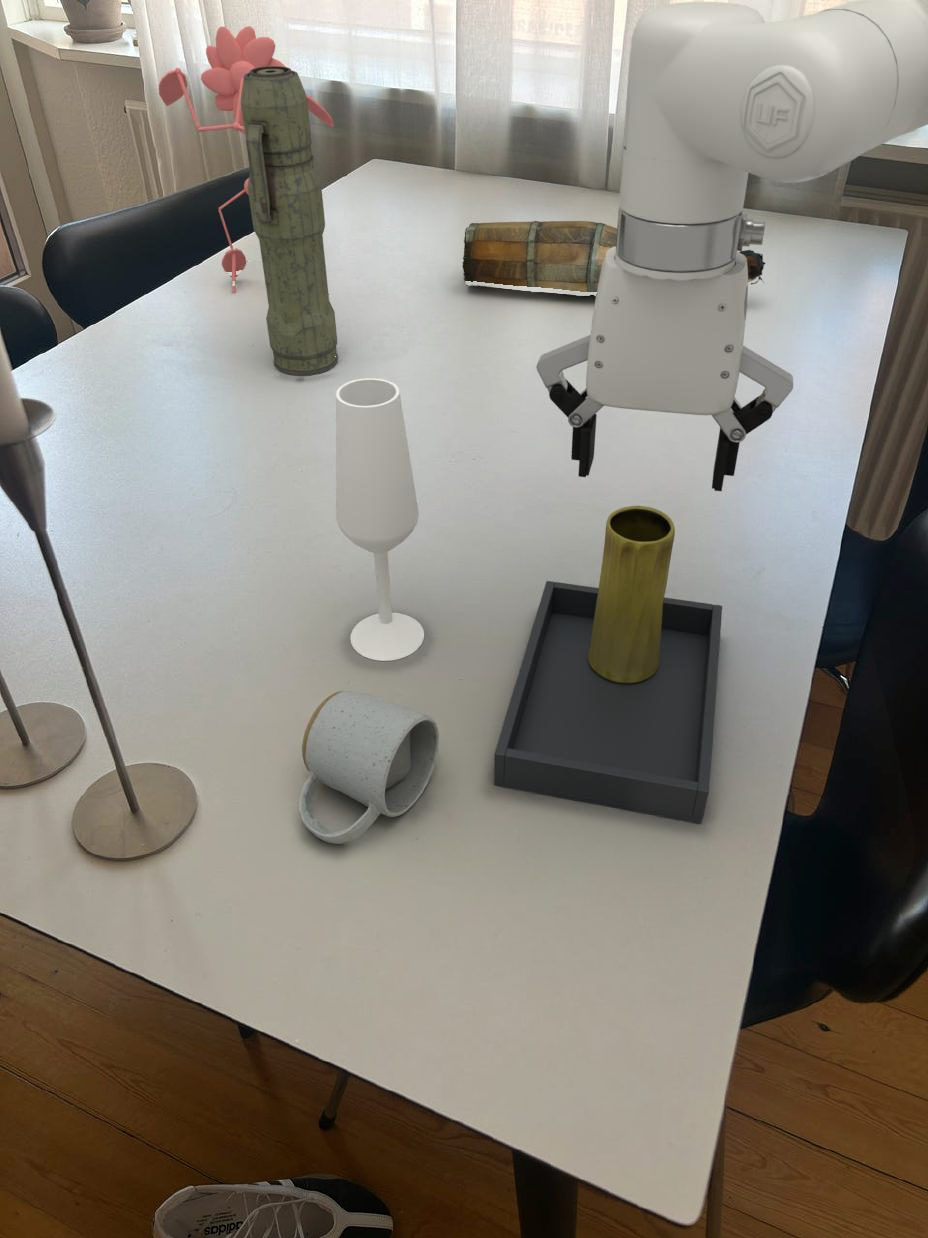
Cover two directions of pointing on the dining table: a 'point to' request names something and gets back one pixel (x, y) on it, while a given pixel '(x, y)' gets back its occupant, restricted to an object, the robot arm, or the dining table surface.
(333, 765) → the ceramic mug
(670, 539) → the vase
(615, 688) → the tray
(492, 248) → the decorative bottle
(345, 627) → the dining table surface
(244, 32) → the figurine
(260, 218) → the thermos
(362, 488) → the champagne flute
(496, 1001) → the dining table surface
